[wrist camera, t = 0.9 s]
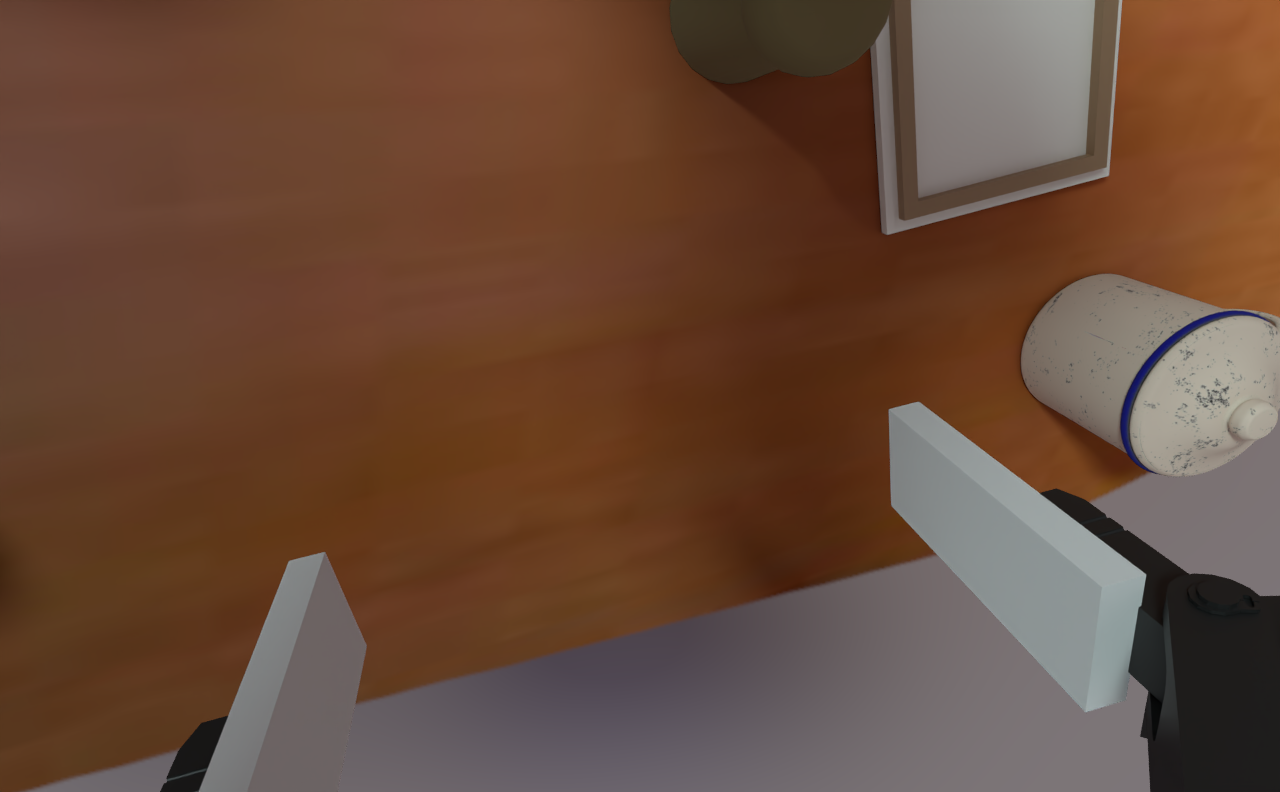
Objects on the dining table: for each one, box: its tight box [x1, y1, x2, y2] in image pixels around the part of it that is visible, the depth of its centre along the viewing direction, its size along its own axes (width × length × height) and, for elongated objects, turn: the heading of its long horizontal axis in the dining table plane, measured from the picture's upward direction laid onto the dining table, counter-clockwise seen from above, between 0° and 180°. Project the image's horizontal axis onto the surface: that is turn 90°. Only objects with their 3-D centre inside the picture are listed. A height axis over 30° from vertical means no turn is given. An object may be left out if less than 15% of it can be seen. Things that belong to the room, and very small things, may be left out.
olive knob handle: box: [670, 0, 893, 84], centre depth 29 cm, size 6×6×11 cm
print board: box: [870, 0, 1122, 235], centre depth 37 cm, size 13×13×1 cm
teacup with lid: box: [1021, 274, 1280, 477], centre depth 40 cm, size 12×9×12 cm
